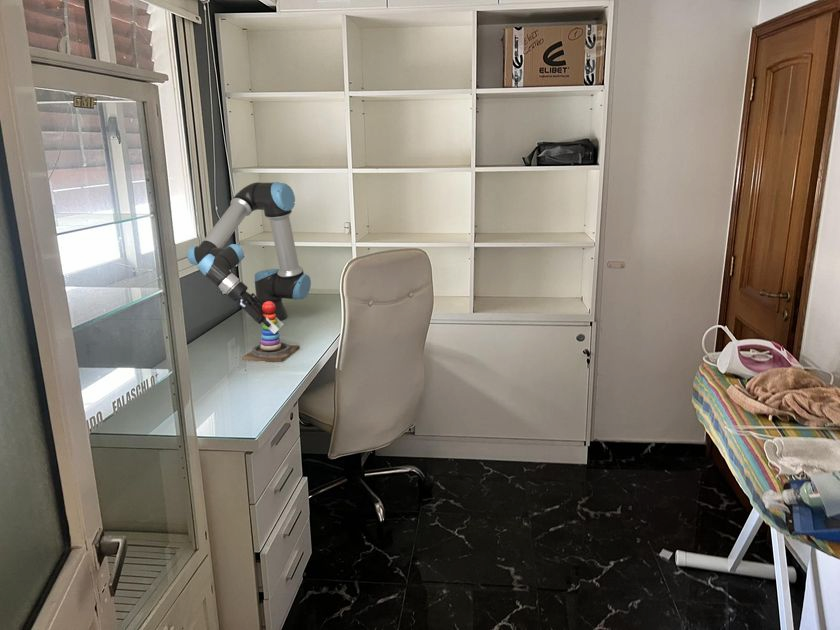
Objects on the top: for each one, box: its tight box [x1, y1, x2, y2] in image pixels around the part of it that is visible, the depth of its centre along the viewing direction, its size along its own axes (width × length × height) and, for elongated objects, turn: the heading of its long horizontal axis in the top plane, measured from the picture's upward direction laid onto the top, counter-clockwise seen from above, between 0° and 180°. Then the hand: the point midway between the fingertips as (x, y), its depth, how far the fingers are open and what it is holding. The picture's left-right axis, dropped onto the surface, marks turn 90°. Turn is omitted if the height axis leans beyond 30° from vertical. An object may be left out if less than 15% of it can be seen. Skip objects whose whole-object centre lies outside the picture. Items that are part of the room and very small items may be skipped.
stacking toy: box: [259, 301, 281, 351], centre depth 247 cm, size 8×8×19 cm
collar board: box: [241, 341, 301, 363], centre depth 250 cm, size 18×16×3 cm
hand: (279, 328), depth 248 cm, fingers closed on stacking toy, 6 cm apart
